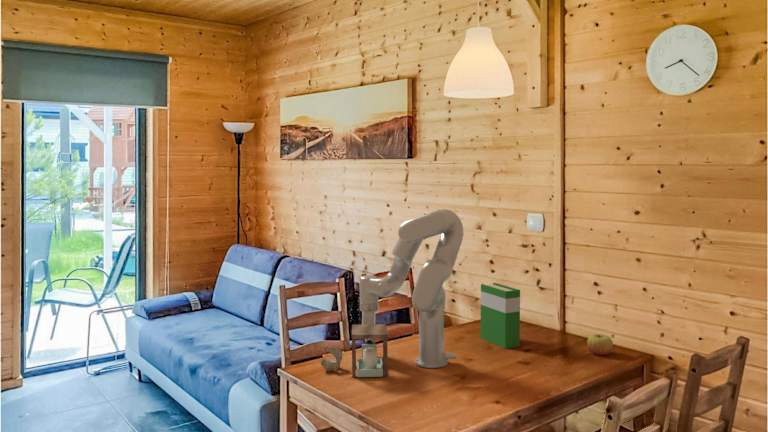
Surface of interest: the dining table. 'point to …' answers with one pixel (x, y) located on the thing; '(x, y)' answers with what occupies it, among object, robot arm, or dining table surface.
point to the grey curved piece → (330, 363)
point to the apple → (599, 344)
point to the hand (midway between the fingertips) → (369, 351)
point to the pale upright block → (369, 358)
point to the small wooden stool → (369, 333)
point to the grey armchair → (369, 372)
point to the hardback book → (500, 315)
